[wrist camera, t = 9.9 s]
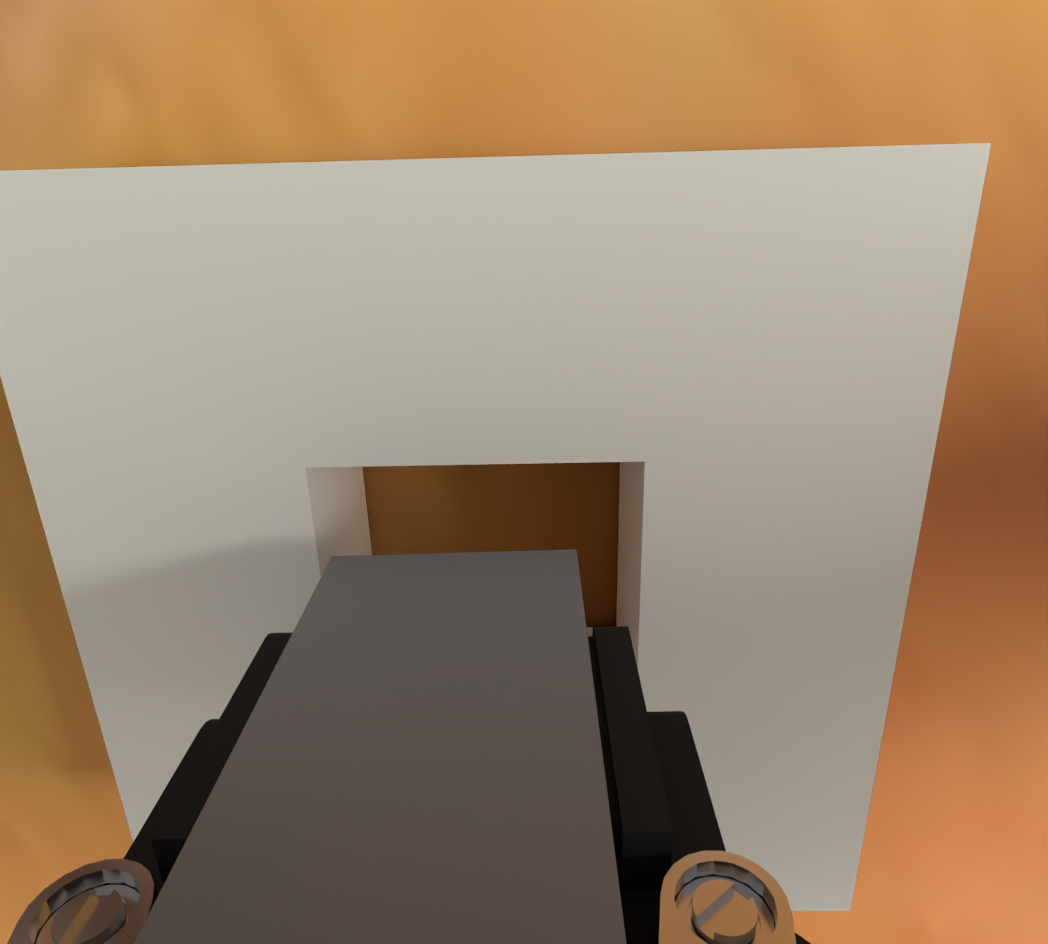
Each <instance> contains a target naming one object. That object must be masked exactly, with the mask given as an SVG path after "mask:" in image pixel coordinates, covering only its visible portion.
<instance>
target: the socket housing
mask: <svg viewBox="0 0 1048 944" xmlns="http://www.w3.org/2000/svg"><path fill="white" fill-rule="evenodd" d="M990 147H991V143H970V144H935V145H899V146H863V147H828V148H792V149H757V150H721V151H685V152H650V153H614V154H579V155H543V156H508V157H472V158H436V159H401V160H365V161H330V162H294V163H258V164H223V165H187V166H152V167H116V168H80V169H45V170H9V171H0V377H1V381H2V384H3V388H4V391H5V395H6V398H7V402H8V405H9V409H10V412H11V416H12V419H13V423H14V426H15V430H16V433H17V437H18V440H19V444H20V447H21V451H22V454H23V458H24V461H25V465H26V468H27V472H28V475H29V479H30V482H31V486H32V489H33V493H34V496H35V500H36V503H37V507H38V510H39V514H40V517H41V521H42V524H43V528H44V531H45V535H46V538H47V542H48V545H49V549H50V552H51V556H52V559H53V563H54V566H55V570H56V573H57V577H58V580H59V584H60V587H61V591H62V594H63V598H64V601H65V605H66V608H67V612H68V615H69V619H70V622H71V626H72V629H73V633H74V636H75V640H76V643H77V647H78V650H79V654H80V657H81V661H82V664H83V668H84V671H85V675H86V678H87V682H88V685H89V689H90V692H91V696H92V699H93V703H94V706H95V710H96V713H97V717H98V720H99V724H100V727H101V731H102V735H103V738H104V742H105V745H106V749H107V752H108V756H109V759H110V763H111V766H112V770H113V773H114V777H115V780H116V784H117V787H118V791H119V794H120V798H121V801H122V805H123V808H124V812H125V815H126V819H127V822H128V826H129V829H130V833H131V836H132V840H133V842H134V840H135V839H136V837H137V835H138V833H139V832H140V830H141V828H142V827H143V825H144V823H145V822H146V820H147V818H148V817H149V815H150V813H151V811H152V810H153V808H154V806H155V805H156V803H157V801H158V800H159V798H160V796H161V794H162V793H163V791H164V789H165V788H166V786H167V784H168V783H169V781H170V779H171V778H172V776H173V774H174V772H175V771H176V769H177V767H178V766H179V764H180V762H181V761H182V759H183V757H184V755H185V754H186V752H187V750H188V749H189V747H190V745H191V744H192V742H193V740H194V739H195V737H196V735H197V733H198V732H199V730H200V729H201V727H202V726H203V725H204V723H205V722H207V721H209V720H210V719H219V718H220V717H221V715H222V713H223V711H224V710H225V708H226V706H227V704H228V703H229V701H230V699H231V697H232V695H233V694H234V692H235V690H236V688H237V687H238V685H239V683H240V681H241V680H242V678H243V676H244V674H245V672H246V671H247V669H248V667H249V665H250V664H251V662H252V660H253V658H254V657H255V655H256V653H257V651H258V649H259V648H260V646H261V644H262V642H263V641H264V639H265V637H266V636H267V635H268V634H269V633H290V632H293V631H294V629H295V627H296V625H297V623H298V621H299V619H300V617H301V615H302V614H303V612H304V610H305V608H306V606H307V604H308V602H309V600H310V598H311V596H312V594H313V592H314V590H315V588H316V586H317V584H318V582H319V580H320V578H321V576H322V574H323V572H324V570H325V569H326V567H327V565H328V563H329V561H330V559H331V557H332V556H355V555H372V549H371V540H370V531H369V522H368V513H367V504H366V495H365V486H364V477H363V468H362V467H368V466H423V465H479V464H534V463H589V462H620V485H619V530H618V575H617V621H616V626H628V628H629V631H630V636H631V641H632V645H633V650H634V654H635V659H636V664H637V668H638V673H639V677H640V682H641V687H642V691H643V696H644V700H645V705H646V710H647V712H660V711H683V712H684V713H685V714H686V716H687V719H688V722H689V725H690V728H691V732H692V735H693V739H694V742H695V746H696V749H697V753H698V756H699V760H700V763H701V766H702V770H703V773H704V777H705V780H706V784H707V787H708V791H709V794H710V798H711V801H712V805H713V808H714V811H715V815H716V818H717V822H718V825H719V829H720V832H721V836H722V839H723V843H724V846H725V850H726V852H729V853H733V854H737V855H740V856H743V857H745V858H747V859H749V860H750V861H752V862H754V863H756V864H758V865H760V866H761V867H762V868H763V869H764V870H766V871H767V872H768V873H769V874H770V875H771V876H772V877H774V878H775V879H776V881H777V882H778V884H779V885H780V887H781V888H782V890H783V891H784V893H785V894H786V896H787V899H788V902H789V905H790V908H791V911H850V909H851V904H852V898H853V893H854V887H855V882H856V877H857V871H858V866H859V860H860V855H861V849H862V844H863V838H864V833H865V828H866V822H867V817H868V811H869V806H870V800H871V795H872V789H873V784H874V779H875V773H876V768H877V762H878V757H879V751H880V746H881V740H882V735H883V730H884V724H885V719H886V713H887V708H888V702H889V697H890V691H891V686H892V681H893V675H894V670H895V664H896V659H897V653H898V648H899V642H900V637H901V632H902V626H903V621H904V615H905V610H906V604H907V599H908V593H909V588H910V583H911V577H912V572H913V566H914V561H915V555H916V550H917V544H918V539H919V534H920V528H921V523H922V517H923V512H924V506H925V501H926V495H927V490H928V485H929V479H930V474H931V468H932V463H933V457H934V452H935V446H936V441H937V435H938V430H939V425H940V419H941V414H942V408H943V403H944V397H945V392H946V386H947V381H948V376H949V370H950V365H951V359H952V354H953V348H954V343H955V337H956V332H957V327H958V321H959V316H960V310H961V305H962V299H963V294H964V288H965V283H966V278H967V272H968V267H969V261H970V256H971V250H972V245H973V239H974V234H975V229H976V223H977V218H978V212H979V207H980V201H981V196H982V190H983V185H984V180H985V174H986V169H987V163H988V158H989V152H990ZM586 628H587V636H592V633H593V627H586Z"/></svg>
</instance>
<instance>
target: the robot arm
mask: <svg viewBox="0 0 1048 944" xmlns="http://www.w3.org/2000/svg"><path fill="white" fill-rule="evenodd" d="M292 633H293V632H290V633H269V634H268V635H267V636H266V637H265V639H264V641H263V642H262V644H261V646H260V648H259V649H258V651H257V653H256V655H255V657H254V658H253V660H252V662H251V664H250V665H249V667H248V669H247V671H246V672H245V674H244V676H243V678H242V680H241V681H240V683H239V685H238V687H237V688H236V690H235V692H234V694H233V695H232V697H231V699H230V701H229V703H228V704H227V706H226V708H225V710H224V711H223V713H222V715H221V717H220V718H219V719H210V720H209V721H207V722H205V723H204V725H203V726H202V727H201V729H200V730H199V732H198V733H197V735H196V737H195V739H194V740H193V742H192V744H191V745H190V747H189V749H188V750H187V752H186V754H185V755H184V757H183V759H182V761H181V762H180V764H179V766H178V767H177V769H176V771H175V772H174V774H173V776H172V778H171V779H170V781H169V783H168V784H167V786H166V788H165V789H164V791H163V793H162V794H161V796H160V798H159V800H158V801H157V803H156V805H155V806H154V808H153V810H152V811H151V813H150V815H149V817H148V818H147V820H146V822H145V823H144V825H143V827H142V828H141V830H140V832H139V833H138V835H137V837H136V839H135V840H134V842H133V844H132V845H131V847H130V849H129V850H128V852H127V854H126V856H125V857H124V859H106V860H102V861H98V862H95V863H91V864H87V865H84V866H82V867H80V868H78V869H76V870H74V871H72V872H70V873H68V874H66V875H64V876H62V877H61V878H60V879H58V880H57V881H55V882H54V883H52V884H51V885H50V886H48V887H47V888H45V889H44V890H43V891H42V892H41V893H40V894H39V895H38V896H37V897H36V898H35V899H34V900H33V901H32V902H31V903H30V904H29V905H28V907H27V908H26V910H25V912H24V913H23V915H22V916H21V918H20V919H19V921H18V922H17V924H16V926H15V928H14V931H13V933H12V935H11V937H10V939H9V941H8V943H7V944H134V942H135V940H136V938H137V936H138V934H139V932H140V930H141V928H142V926H143V924H144V922H145V920H146V919H147V917H148V915H149V913H150V911H151V909H152V907H153V905H154V903H155V901H156V899H157V897H158V895H159V893H160V891H161V889H162V887H163V885H164V883H165V881H166V879H167V877H168V876H169V874H170V872H171V870H172V868H173V866H174V864H175V862H176V860H177V858H178V856H179V854H180V852H181V850H182V848H183V846H184V844H185V842H186V840H187V838H188V836H189V834H190V832H191V831H192V829H193V827H194V825H195V823H196V821H197V819H198V817H199V815H200V813H201V811H202V809H203V807H204V805H205V803H206V801H207V799H208V797H209V795H210V793H211V791H212V789H213V788H214V786H215V784H216V782H217V780H218V778H219V776H220V774H221V772H222V770H223V768H224V766H225V764H226V762H227V760H228V758H229V756H230V754H231V752H232V750H233V748H234V746H235V745H236V743H237V741H238V739H239V737H240V735H241V733H242V731H243V729H244V727H245V725H246V723H247V721H248V719H249V717H250V715H251V713H252V711H253V709H254V707H255V705H256V703H257V701H258V700H259V698H260V696H261V694H262V692H263V690H264V688H265V686H266V684H267V682H268V680H269V678H270V676H271V674H272V672H273V670H274V668H275V666H276V664H277V662H278V660H279V658H280V657H281V655H282V653H283V651H284V649H285V647H286V645H287V643H288V641H289V639H290V637H291V635H292ZM588 644H589V651H590V659H591V667H592V675H593V683H594V691H595V699H596V707H597V715H598V723H599V730H600V738H601V746H602V754H603V762H604V770H605V778H606V786H607V794H608V802H609V809H610V817H611V825H612V833H613V841H614V849H615V857H616V865H617V873H618V881H619V889H620V896H621V904H622V912H623V920H624V928H625V936H626V944H811V943H809V942H808V941H806V940H805V939H803V938H802V937H800V936H799V935H798V934H796V933H795V931H794V924H793V917H792V912H791V908H790V905H789V902H788V899H787V896H786V894H785V893H784V891H783V890H782V888H781V887H780V885H779V884H778V882H777V881H776V879H775V878H774V877H772V876H771V875H770V874H769V873H768V872H767V871H766V870H764V869H763V868H762V867H761V866H760V865H758V864H756V863H754V862H752V861H750V860H749V859H747V858H745V857H743V856H740V855H737V854H733V853H729V852H726V850H725V846H724V843H723V839H722V836H721V832H720V829H719V825H718V822H717V818H716V815H715V811H714V808H713V805H712V801H711V798H710V794H709V791H708V787H707V784H706V780H705V777H704V773H703V770H702V766H701V763H700V760H699V756H698V753H697V749H696V746H695V742H694V739H693V735H692V732H691V728H690V725H689V722H688V719H687V716H686V714H685V713H684V712H683V711H660V712H647V710H646V705H645V700H644V696H643V691H642V687H641V682H640V677H639V673H638V668H637V664H636V659H635V654H634V650H633V645H632V641H631V636H630V631H629V628H628V626H612V627H593V633H592V636H588Z"/></svg>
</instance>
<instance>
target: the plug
mask: <svg viewBox="0 0 1048 944" xmlns="http://www.w3.org/2000/svg"><path fill="white" fill-rule="evenodd" d="M134 944H626V936H625V928H624V920H623V912H622V904H621V896H620V889H619V881H618V873H617V865H616V857H615V849H614V841H613V833H612V825H611V817H610V809H609V802H608V794H607V786H606V778H605V770H604V762H603V754H602V746H601V738H600V730H599V723H598V715H597V707H596V699H595V691H594V683H593V675H592V667H591V659H590V651H589V644H588V636H587V628H586V620H585V612H584V604H583V596H582V588H581V580H580V572H579V564H578V557H577V549H567V550H531V551H496V552H461V553H426V554H390V555H355V556H332V557H331V559H330V561H329V563H328V565H327V567H326V569H325V570H324V572H323V574H322V576H321V578H320V580H319V582H318V584H317V586H316V588H315V590H314V592H313V594H312V596H311V598H310V600H309V602H308V604H307V606H306V608H305V610H304V612H303V614H302V615H301V617H300V619H299V621H298V623H297V625H296V627H295V629H294V631H293V633H292V635H291V637H290V639H289V641H288V643H287V645H286V647H285V649H284V651H283V653H282V655H281V657H280V658H279V660H278V662H277V664H276V666H275V668H274V670H273V672H272V674H271V676H270V678H269V680H268V682H267V684H266V686H265V688H264V690H263V692H262V694H261V696H260V698H259V700H258V701H257V703H256V705H255V707H254V709H253V711H252V713H251V715H250V717H249V719H248V721H247V723H246V725H245V727H244V729H243V731H242V733H241V735H240V737H239V739H238V741H237V743H236V745H235V746H234V748H233V750H232V752H231V754H230V756H229V758H228V760H227V762H226V764H225V766H224V768H223V770H222V772H221V774H220V776H219V778H218V780H217V782H216V784H215V786H214V788H213V789H212V791H211V793H210V795H209V797H208V799H207V801H206V803H205V805H204V807H203V809H202V811H201V813H200V815H199V817H198V819H197V821H196V823H195V825H194V827H193V829H192V831H191V832H190V834H189V836H188V838H187V840H186V842H185V844H184V846H183V848H182V850H181V852H180V854H179V856H178V858H177V860H176V862H175V864H174V866H173V868H172V870H171V872H170V874H169V876H168V877H167V879H166V881H165V883H164V885H163V887H162V889H161V891H160V893H159V895H158V897H157V899H156V901H155V903H154V905H153V907H152V909H151V911H150V913H149V915H148V917H147V919H146V920H145V922H144V924H143V926H142V928H141V930H140V932H139V934H138V936H137V938H136V940H135V942H134Z"/></svg>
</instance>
